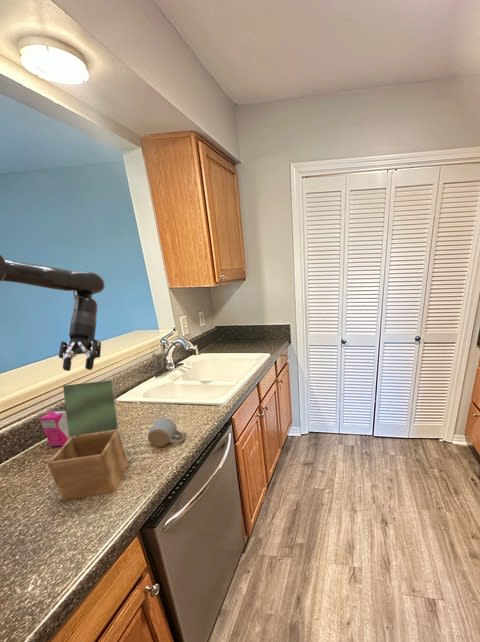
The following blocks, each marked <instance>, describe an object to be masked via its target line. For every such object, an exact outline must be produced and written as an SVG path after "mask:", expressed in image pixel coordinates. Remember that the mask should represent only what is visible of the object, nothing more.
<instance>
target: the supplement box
mask: <svg viewBox="0 0 480 642" xmlns="http://www.w3.org/2000/svg"><path fill="white" fill-rule="evenodd" d="M38 420H39V423H40V425H41V427H42V429H43V432H44V434H45V437H46V439H47V442H48V443H49V446H50V448H61V447H62V446H63V445H64V444H65V443H66V442H67V441H68V439H69V438H70V437H77V435H74V436H69V432H68V423H67V415H66V410H54V411H50V412H47V413H46V414H45V415H42V416H41V417H39V418H38Z"/></svg>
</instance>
